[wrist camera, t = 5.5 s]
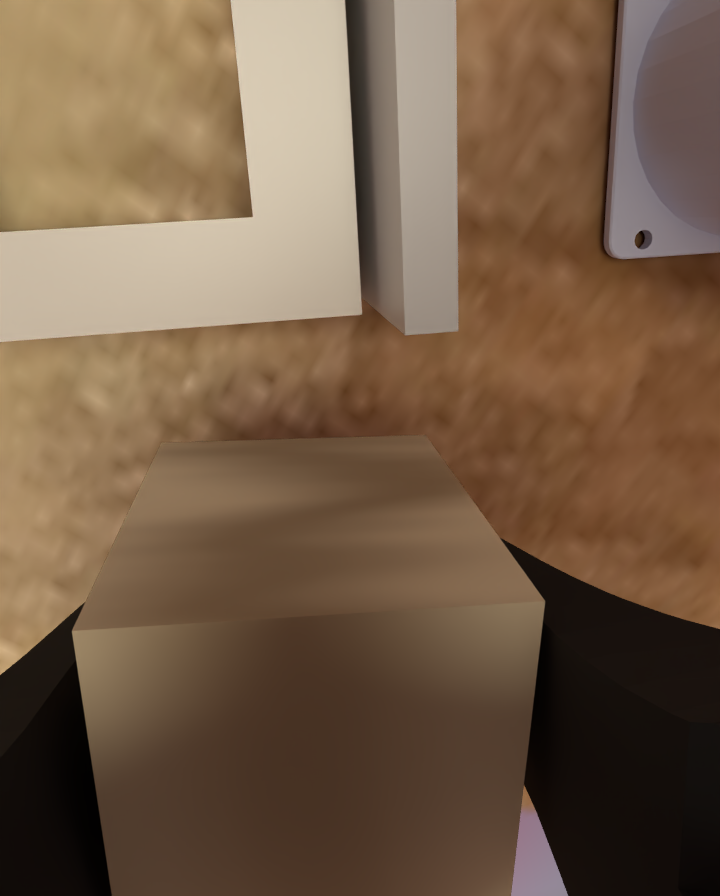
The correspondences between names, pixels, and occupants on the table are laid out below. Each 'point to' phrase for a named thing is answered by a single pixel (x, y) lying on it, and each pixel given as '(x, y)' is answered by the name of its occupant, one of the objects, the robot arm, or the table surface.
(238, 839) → the peg
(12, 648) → the table surface
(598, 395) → the table surface
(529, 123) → the table surface
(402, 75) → the housing
